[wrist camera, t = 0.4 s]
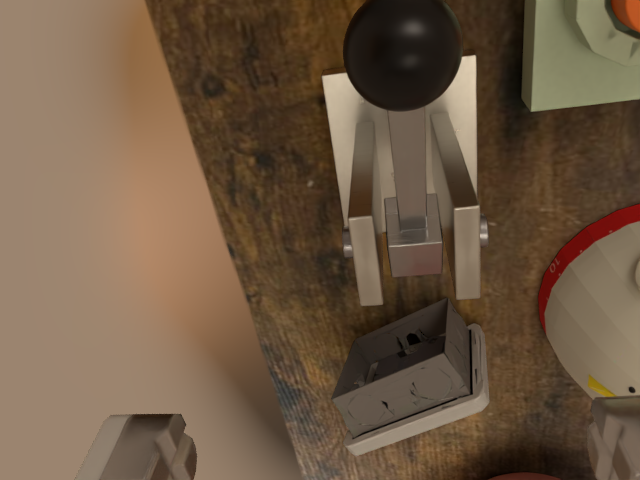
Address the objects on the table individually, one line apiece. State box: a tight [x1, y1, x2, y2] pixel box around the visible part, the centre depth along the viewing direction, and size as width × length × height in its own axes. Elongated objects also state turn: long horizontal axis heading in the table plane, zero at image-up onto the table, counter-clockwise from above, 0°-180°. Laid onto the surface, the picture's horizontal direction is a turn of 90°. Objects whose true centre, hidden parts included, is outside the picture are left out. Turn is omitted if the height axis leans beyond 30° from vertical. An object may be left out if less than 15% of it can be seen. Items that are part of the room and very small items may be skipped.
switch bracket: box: [321, 50, 489, 306], centre depth 27 cm, size 10×8×12 cm
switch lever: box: [343, 0, 463, 277], centre depth 19 cm, size 13×3×3 cm, turn 10°
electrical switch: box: [331, 298, 489, 456], centre depth 35 cm, size 9×5×9 cm, turn 125°
